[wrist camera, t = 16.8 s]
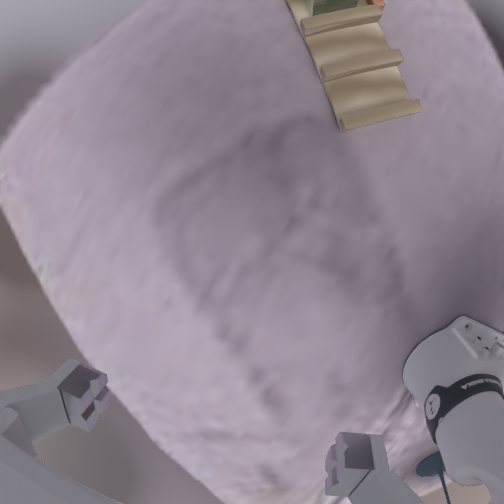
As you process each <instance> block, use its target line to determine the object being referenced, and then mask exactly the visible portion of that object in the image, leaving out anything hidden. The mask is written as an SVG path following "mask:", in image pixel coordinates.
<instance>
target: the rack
mask: <svg viewBox="0 0 504 504" xmlns="http://www.w3.org/2000/svg"><path fill="white" fill-rule="evenodd" d="M286 2H287V4H288V6H289V8H290V11H291V13H292V15H293V17H294V19H295V21H296V23H297V25H298V27H299V29H300V32H301V34H302V36H303V38H304V40H305V43H306V45H307V47H308V50H309V52H310V54H311V57H312V59H313V61H314V64H315V66H316V68H317V71H318V73H319V76H320V78H321V81H322V83H323V86H324V88H325V91H326V94H327V96H328V99H329V102H330V104H331V107H332V110H333V112H334V115H335V118H336V121H337V124H338V126H339V129H340V132H344V131H347V130H351V129H355V128H358V127H362V126H366V125H370V124H374V123H378V122H382V121H386V120H390V119H394V118H398V117H402V116H406V115H411V114H414V113H417V112H421V111H423V110H422V107H421V104H420V101H419V99H415V100H411V101H410V99H409V96H408V94H407V91H406V88H405V85H404V83H403V80H402V77H401V75H400V72H399V70H398V67H397V65H398V64H400V63H401V62H402V61H403V60H404V59H403V56H402V54H401V52H400V49H395V50H390V48H389V46H388V44H387V42H386V39H385V37H384V35H383V33H382V31H381V29H380V27H379V25H378V23H377V22H378V20H379V19H380V17H381V16H382V14H383V13H382V10H383V8H384V6H385V4H384V2H383V0H359V1H358V4H357V6H356V7H355V8H349V9H344V10H339V11H334V12H329V13H324V14H320V15H316V16H312V17H311V15H310V13H309V11H308V9H307V7H306V5H305V3H304V1H303V0H286Z"/></svg>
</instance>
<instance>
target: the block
mask: <svg viewBox="0 0 504 504" xmlns="http://www.w3.org/2000/svg"><path fill="white" fill-rule="evenodd" d="M303 1H304V3H305V5H306V7H307V9H308V11H309V13H310V15H311V17H312V16H316V15H320V14H324V13H329V12H334V11H339V10H344V9H349V8H355V7H356V6H357V4H358V1H359V0H303Z"/></svg>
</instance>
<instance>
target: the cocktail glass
mask: <svg viewBox="0 0 504 504" xmlns="http://www.w3.org/2000/svg"><path fill="white" fill-rule="evenodd" d="M444 470H446V469H445V465H444V462H443V459H442V456H441V453H440V452H438V453H435V454H433V455H431V456H430V457H428V458H426V459H425V460H424V461H423V462H421V464H420V465H419V466H418V468H417V474H418V475H420V476H432V475H435V474H439V476H440V479H441V482H442V485H443V488H444V492H445V495H446V499H447V503H448V504H450V500H449V496H448V492H447V489H446V485H445V481H444V477H443V471H444Z"/></svg>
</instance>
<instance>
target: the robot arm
mask: <svg viewBox="0 0 504 504" xmlns="http://www.w3.org/2000/svg"><path fill="white" fill-rule="evenodd" d="M466 325H467V326H466ZM403 381H404V384H405V386H406V388H407V389H408V390H409V392H410V393H411V394H412V395H413V398H414V402H415V404H416V406H417V407H419V408H420V409H421V411H422V413H423V415H424V416H425V418H426V423H427V426H428V429H429V431H430V435H431V437H432V439H433V441H434V442H435V443H436V444H437V445H438V447H439V450H440V453H441V456H442V459H443V462H444V465H445V469H446V472H447V475H448V477H449V478H450V479H451V480H452V481H453V482H455V483H457V484H459V485H462V486H476V485H481V484H485V485H486V487H487V488H488V490H489V492H490V495H491V501H490V503H489V504H504V394H503V389H504V334H503V333H501V332H499V331H497V330H495V329H492V328H490V327H488V326H486V325H484V324H482V323H479V322H477V321H475V320H473V319H471V318H468V317H466V316H460V317H459V318H457V319H456V320H455V321H454V322H453V323H451V324H450V325H449V326H448V327H447V328H445V329H443V330H441V331H439V332H436V333H434V334H433V335H431V336H429V337H428V338H426V339H425V340H424V341H422V342H421V343H420V344H419V345H418V346H417V347H416V348H415V349H414V350H413V352H412V353H411V354H410V356H409V358H408V359H407V361H406V364H405V366H404V370H403ZM107 382H108V379H107V374H105V373H103V372H101V371H98V370H96V369H94V368H92V367H89V366H87V365H85V364H83V363H80V362H78V361H76V360H74V359H69V360H67V361H66V362H65V363H64V364H63V365H62V366H61V367H60V368H59V369H58V370H57V371H56V372H55V373H54V374H53V375H52V376H51V377H50V378H49V379H48V380H47V381H46V382H44V381H39V382H35V383H31V384H28V385H24V386H20V387H16V388H12V389H8V390H3V391H0V504H122V503H120V502H118V501H115V500H113V499H111V498H108V497H106V496H104V495H102V494H100V493H98V492H96V491H94V490H91V489H89V488H87V487H85V486H83V485H81V484H80V483H78V482H76V481H74V480H72V479H70V478H68V477H66V476H65V475H63V474H61V473H59V472H58V471H56V470H54V469H52V468H51V467H49V466H47V465H46V464H44V463H43V462H41V461H39V460H38V459H36V458H35V457H36V456H37V451H36V450H35V448H34V446H33V444H32V442H33V441H35V440H37V439H40V438H42V437H44V436H46V435H48V434H51V433H53V432H55V431H57V430H59V429H62V428H64V427H66V426H68V425H69V423H70V424H72V425H74V426H76V427H78V428H80V429H83V430H85V431H87V432H90V431H91V429H92V428H93V426H94V425H95V424H96V422H97V415H99V414H101V413H103V412H104V411H105V409H106V407H107V406H108V403H109V398H110V393H109V389H108V388H107V387H106V383H107ZM335 439H336V444H334V445H332V446H331V447H330V449H329V451H328V454H327V457H326V462H325V470H326V471H327V473H328V474H329V475H328V477H327V478H326V480H325V495H331V496H344V497H348V498H349V500H350V501H351V503H352V504H426V503H424V501H423V500H422V499H421V498H420V497H419V496H418V495H417V494H416V493H415V492H414V491H413V490H412V489H411V488H410V487H409V486H408V485H407V484H406V483H405V482H404V481H403V480H402V479H401V478H400V477H399V476H398V475H397V474H396V473H395V472H394V471H390V470H389V465H388V459H387V454H386V449H385V444H384V439H383V436H382V435H374V434H361V433H349V432H340V433H338V435H337V437H336V438H335Z"/></svg>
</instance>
